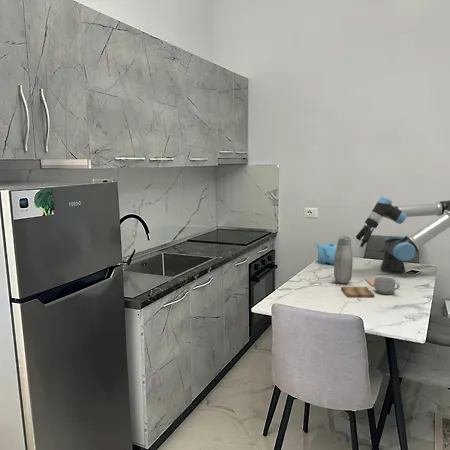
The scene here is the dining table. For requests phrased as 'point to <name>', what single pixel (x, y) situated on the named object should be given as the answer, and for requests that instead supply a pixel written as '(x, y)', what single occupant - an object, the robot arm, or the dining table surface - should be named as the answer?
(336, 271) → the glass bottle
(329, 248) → the teakettle
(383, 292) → the teacup
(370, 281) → the terracotta tile
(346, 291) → the walnut board
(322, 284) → the dining table surface
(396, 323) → the dining table surface
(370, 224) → the robot arm
